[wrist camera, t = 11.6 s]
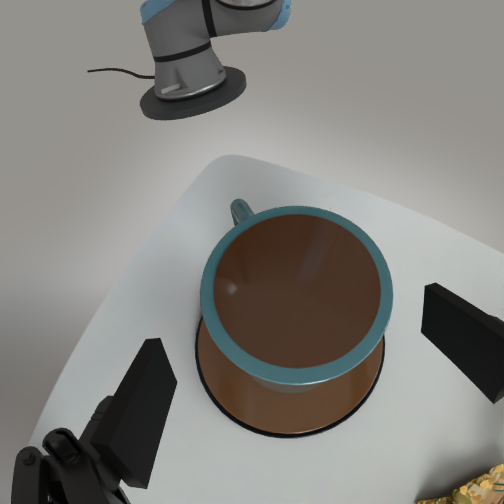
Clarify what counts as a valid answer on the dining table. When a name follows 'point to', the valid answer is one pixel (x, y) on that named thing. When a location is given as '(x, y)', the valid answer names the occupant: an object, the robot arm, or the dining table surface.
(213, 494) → the dining table surface
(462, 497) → the green creature figurine
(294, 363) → the teal mug
